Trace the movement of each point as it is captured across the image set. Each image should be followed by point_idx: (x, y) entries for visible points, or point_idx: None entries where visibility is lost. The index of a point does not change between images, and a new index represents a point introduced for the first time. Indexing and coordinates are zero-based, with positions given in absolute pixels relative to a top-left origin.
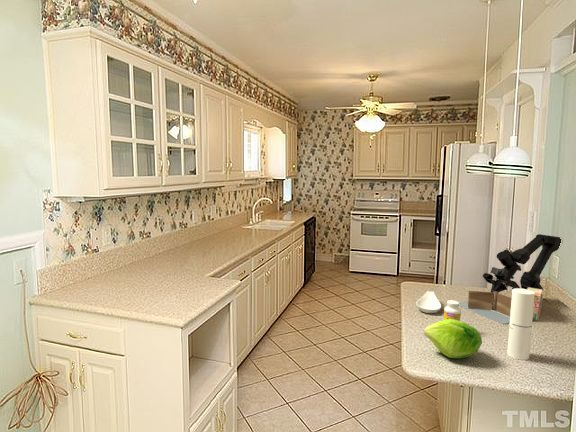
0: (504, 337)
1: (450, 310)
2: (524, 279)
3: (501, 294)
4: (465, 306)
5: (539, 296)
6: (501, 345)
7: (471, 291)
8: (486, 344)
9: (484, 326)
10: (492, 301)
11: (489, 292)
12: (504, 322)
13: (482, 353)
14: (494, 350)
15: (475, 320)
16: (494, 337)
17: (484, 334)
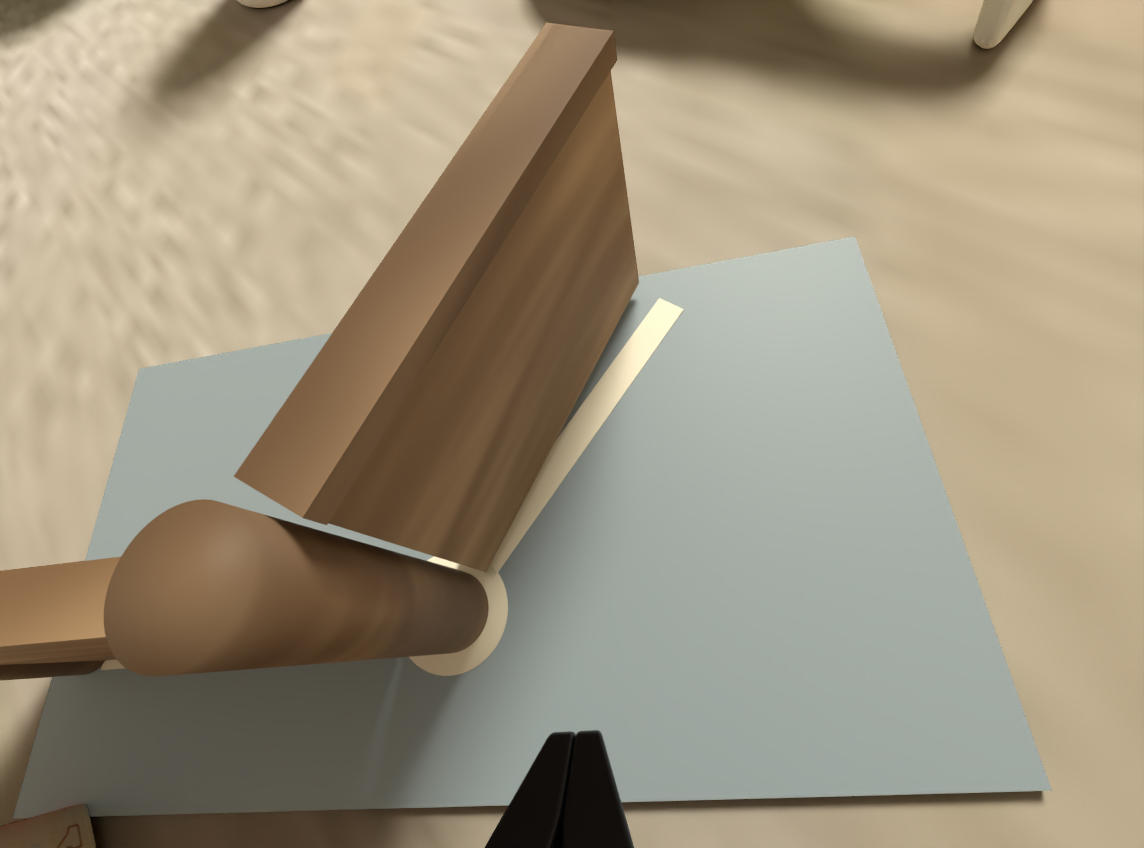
0: (32, 216)
1: None
2: None
3: (42, 638)
4: (701, 296)
5: None
6: (4, 137)
7: (540, 59)
8: (63, 74)
9: (210, 193)
10: (407, 559)
11: (317, 418)
12: (147, 406)
13: (34, 20)
14: (8, 79)
15: (328, 192)
16: (74, 157)
17: (135, 124)
